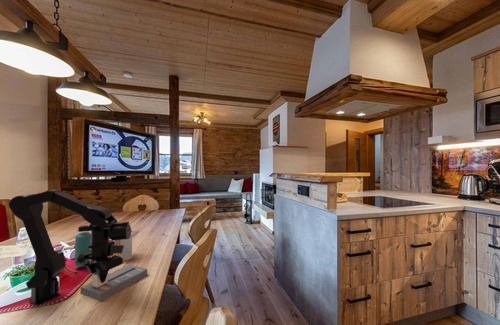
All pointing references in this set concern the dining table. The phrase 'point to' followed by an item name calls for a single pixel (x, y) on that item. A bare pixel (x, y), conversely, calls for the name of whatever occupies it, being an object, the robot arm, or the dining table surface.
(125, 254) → the small box
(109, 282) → the console
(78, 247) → the beverage bottle
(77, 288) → the dining table surface
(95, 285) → the fader knob
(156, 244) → the dining table surface
